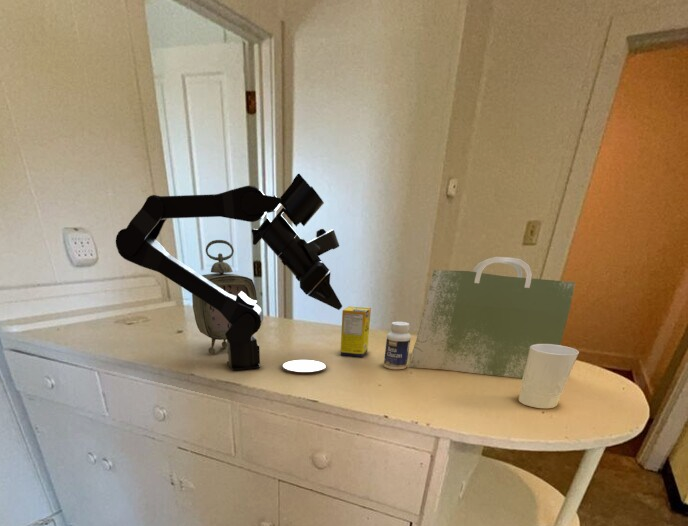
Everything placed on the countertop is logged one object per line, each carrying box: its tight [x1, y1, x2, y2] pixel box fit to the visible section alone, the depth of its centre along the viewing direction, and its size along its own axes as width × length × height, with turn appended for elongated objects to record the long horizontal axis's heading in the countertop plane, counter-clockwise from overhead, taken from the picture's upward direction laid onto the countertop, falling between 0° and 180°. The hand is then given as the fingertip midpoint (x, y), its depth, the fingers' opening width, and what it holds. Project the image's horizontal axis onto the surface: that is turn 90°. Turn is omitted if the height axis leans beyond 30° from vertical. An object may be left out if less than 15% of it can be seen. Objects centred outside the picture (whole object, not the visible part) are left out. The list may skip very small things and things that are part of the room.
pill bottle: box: [383, 321, 412, 370], centre depth 98 cm, size 5×5×10 cm
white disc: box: [282, 359, 327, 376], centre depth 99 cm, size 10×10×1 cm
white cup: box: [518, 344, 580, 409], centre depth 79 cm, size 8×8×10 cm
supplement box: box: [340, 306, 372, 358], centre depth 108 cm, size 6×6×11 cm
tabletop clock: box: [191, 239, 258, 355], centre depth 106 cm, size 14×9×25 cm, turn 120°
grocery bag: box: [409, 256, 576, 379], centre depth 96 cm, size 32×14×23 cm, turn 73°
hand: (338, 304), depth 93 cm, fingers open, 9 cm apart
